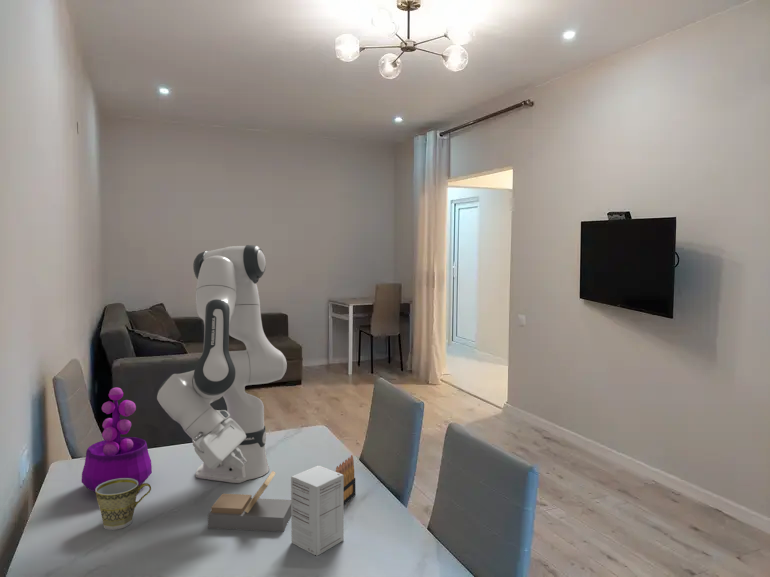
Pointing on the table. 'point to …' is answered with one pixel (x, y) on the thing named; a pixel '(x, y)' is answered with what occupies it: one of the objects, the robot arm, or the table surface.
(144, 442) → the decorative plant
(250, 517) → the floor base
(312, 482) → the supplement box
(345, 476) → the ammunition clip
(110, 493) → the ceramic cup
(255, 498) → the oak plank
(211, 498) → the table surface
